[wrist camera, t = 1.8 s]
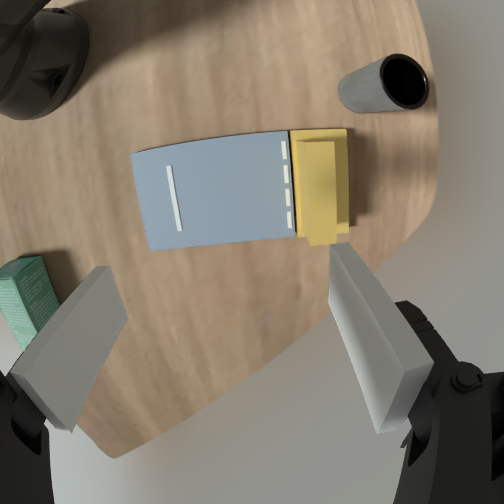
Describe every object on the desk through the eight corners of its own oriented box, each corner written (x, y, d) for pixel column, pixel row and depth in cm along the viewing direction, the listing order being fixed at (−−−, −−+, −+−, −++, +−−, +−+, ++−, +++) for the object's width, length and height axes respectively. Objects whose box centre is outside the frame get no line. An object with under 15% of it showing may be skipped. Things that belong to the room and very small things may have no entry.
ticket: (134, 152, 27) (129, 154, 26) (285, 130, 27) (287, 130, 25) (153, 247, 32) (149, 251, 30) (293, 232, 31) (295, 236, 30)
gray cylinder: (342, 115, 26) (386, 111, 16) (333, 75, 24) (373, 52, 15) (380, 112, 25) (434, 109, 16) (372, 73, 24) (422, 55, 14)
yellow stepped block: (289, 130, 26) (299, 130, 21) (342, 129, 26) (364, 129, 21) (296, 233, 31) (306, 256, 25) (345, 228, 31) (364, 250, 25)
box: (41, 252, 32) (11, 277, 25) (73, 329, 37) (52, 360, 31) (13, 256, 32) (-15, 279, 25) (44, 327, 38) (23, 354, 31)
